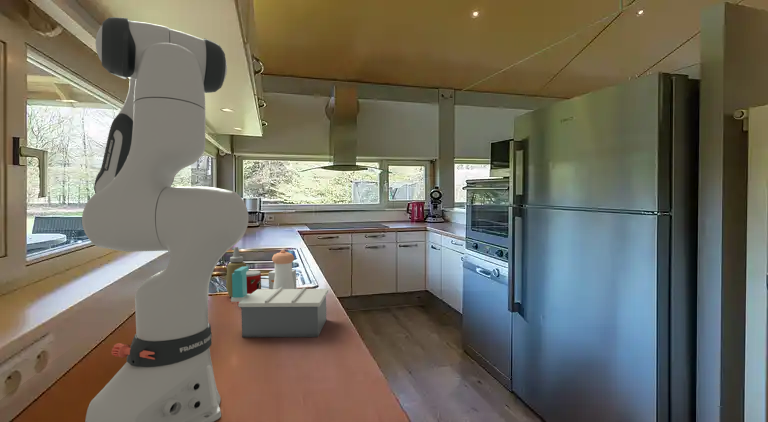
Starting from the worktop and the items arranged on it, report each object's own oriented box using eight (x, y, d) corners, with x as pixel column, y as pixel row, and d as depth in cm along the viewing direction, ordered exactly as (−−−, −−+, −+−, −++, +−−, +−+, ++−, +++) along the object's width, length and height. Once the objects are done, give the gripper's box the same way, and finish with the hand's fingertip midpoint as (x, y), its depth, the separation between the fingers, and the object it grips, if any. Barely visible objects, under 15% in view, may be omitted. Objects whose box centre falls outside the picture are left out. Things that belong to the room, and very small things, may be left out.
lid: (319, 306, 103) (318, 273, 103) (223, 307, 103) (222, 274, 103) (328, 292, 118) (327, 263, 117) (243, 292, 118) (243, 263, 118)
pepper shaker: (298, 305, 134) (296, 248, 133) (292, 311, 126) (291, 251, 126) (276, 305, 134) (275, 248, 133) (269, 311, 127) (268, 251, 126)
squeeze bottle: (253, 293, 150) (252, 246, 149) (241, 298, 142) (240, 249, 141) (234, 292, 152) (232, 245, 151) (221, 297, 144) (219, 248, 143)
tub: (318, 336, 104) (317, 306, 103) (242, 337, 104) (241, 307, 104) (326, 319, 118) (325, 293, 117) (259, 320, 118) (258, 293, 118)
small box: (297, 298, 142) (296, 269, 141) (290, 303, 136) (289, 272, 136) (276, 297, 143) (276, 268, 143) (268, 301, 138) (268, 272, 137)
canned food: (254, 308, 131) (253, 275, 130) (232, 307, 132) (231, 274, 132) (265, 301, 138) (265, 270, 138) (245, 300, 140) (244, 269, 139)
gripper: (149, 208, 99) (189, 247, 100) (190, 206, 120) (223, 238, 120) (132, 226, 100) (172, 265, 100) (175, 221, 120) (208, 252, 120)
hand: (200, 250), depth 110 cm, fingers open, 8 cm apart
